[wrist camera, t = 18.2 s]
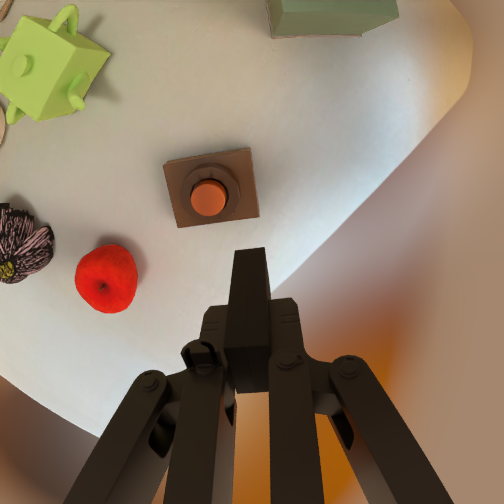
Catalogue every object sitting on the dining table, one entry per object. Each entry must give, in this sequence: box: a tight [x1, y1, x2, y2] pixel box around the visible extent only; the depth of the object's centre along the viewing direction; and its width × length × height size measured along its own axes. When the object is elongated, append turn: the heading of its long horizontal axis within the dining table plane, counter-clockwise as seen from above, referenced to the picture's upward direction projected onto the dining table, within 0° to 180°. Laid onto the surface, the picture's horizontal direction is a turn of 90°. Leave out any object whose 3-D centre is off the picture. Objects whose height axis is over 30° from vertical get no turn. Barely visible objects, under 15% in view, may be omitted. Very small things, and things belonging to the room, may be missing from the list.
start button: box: [191, 180, 226, 216], centre depth 32 cm, size 4×4×2 cm
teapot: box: [0, 4, 111, 125], centre depth 23 cm, size 15×13×11 cm
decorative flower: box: [0, 203, 55, 284], centre depth 35 cm, size 15×12×15 cm
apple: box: [75, 244, 138, 313], centre depth 38 cm, size 9×9×8 cm
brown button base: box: [163, 148, 260, 228], centre depth 34 cm, size 10×8×4 cm
